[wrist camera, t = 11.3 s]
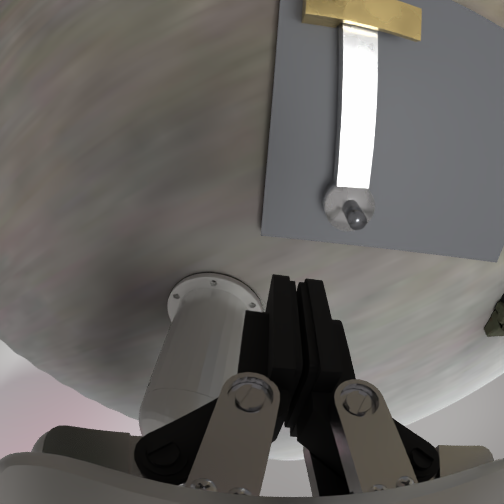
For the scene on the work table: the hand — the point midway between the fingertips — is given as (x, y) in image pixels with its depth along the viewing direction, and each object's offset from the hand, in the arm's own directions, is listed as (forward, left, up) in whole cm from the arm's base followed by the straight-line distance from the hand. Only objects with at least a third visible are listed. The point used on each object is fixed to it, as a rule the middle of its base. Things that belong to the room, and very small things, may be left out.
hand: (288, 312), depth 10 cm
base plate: (+7, -15, -22) cm, 27 cm away
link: (+7, -6, -20) cm, 22 cm away
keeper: (+15, -5, -20) cm, 26 cm away
